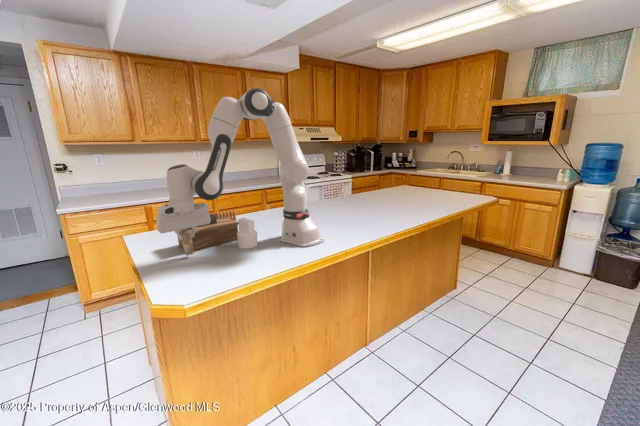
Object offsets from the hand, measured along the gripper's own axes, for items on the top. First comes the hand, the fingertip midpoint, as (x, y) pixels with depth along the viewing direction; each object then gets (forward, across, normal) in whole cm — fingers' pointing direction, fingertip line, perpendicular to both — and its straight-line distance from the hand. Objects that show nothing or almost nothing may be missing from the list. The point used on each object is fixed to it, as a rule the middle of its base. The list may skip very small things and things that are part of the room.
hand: (186, 238), depth 121 cm
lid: (0, -13, -11) cm, 17 cm away
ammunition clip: (+8, -27, -22) cm, 36 cm away
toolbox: (+8, -13, -11) cm, 19 cm away
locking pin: (+7, 0, 0) cm, 7 cm away
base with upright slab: (+8, -25, +4) cm, 27 cm away
